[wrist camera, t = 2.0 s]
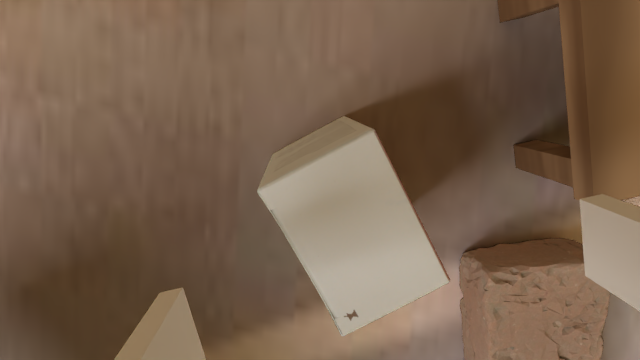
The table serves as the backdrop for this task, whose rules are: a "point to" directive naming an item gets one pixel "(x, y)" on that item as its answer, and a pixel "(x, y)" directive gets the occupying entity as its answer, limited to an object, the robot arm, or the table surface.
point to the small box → (351, 223)
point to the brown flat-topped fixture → (592, 97)
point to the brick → (531, 303)
